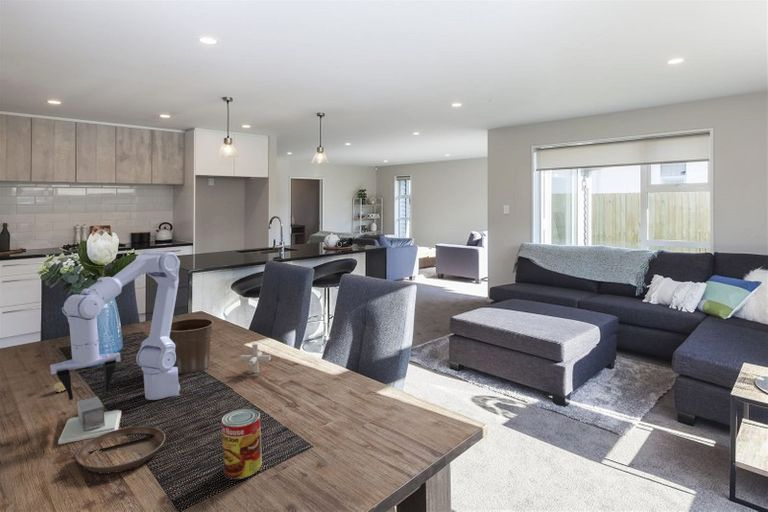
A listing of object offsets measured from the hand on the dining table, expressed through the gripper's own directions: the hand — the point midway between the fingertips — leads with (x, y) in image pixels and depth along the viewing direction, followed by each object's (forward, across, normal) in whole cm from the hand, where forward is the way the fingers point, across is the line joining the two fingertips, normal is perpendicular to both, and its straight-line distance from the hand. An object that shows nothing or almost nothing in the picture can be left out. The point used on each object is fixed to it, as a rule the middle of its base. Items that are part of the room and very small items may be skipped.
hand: (89, 394), depth 113 cm
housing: (+7, 0, 0) cm, 7 cm away
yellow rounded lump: (+8, +2, -37) cm, 38 cm away
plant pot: (+10, -33, -30) cm, 46 cm away
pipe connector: (+10, -49, -12) cm, 52 cm away
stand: (+10, 0, 0) cm, 10 cm away
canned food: (+10, -23, +41) cm, 48 cm away
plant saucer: (+10, -4, +18) cm, 21 cm away
